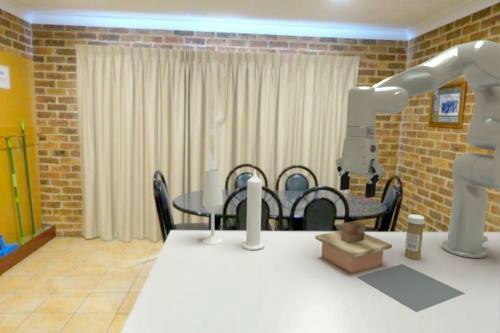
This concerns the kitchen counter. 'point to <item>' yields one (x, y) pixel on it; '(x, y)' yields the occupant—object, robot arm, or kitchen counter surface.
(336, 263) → the open wooden tray
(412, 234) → the sprinkles bottle
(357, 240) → the lid
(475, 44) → the robot arm
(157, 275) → the kitchen counter surface
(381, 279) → the mat
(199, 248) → the kitchen counter surface
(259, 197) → the candle
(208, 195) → the champagne flute
